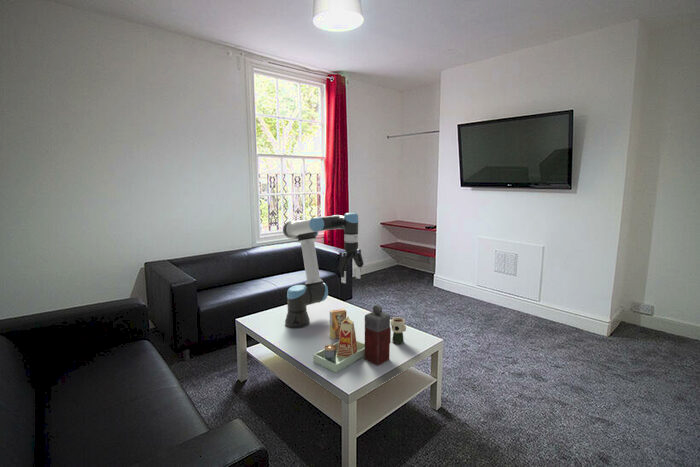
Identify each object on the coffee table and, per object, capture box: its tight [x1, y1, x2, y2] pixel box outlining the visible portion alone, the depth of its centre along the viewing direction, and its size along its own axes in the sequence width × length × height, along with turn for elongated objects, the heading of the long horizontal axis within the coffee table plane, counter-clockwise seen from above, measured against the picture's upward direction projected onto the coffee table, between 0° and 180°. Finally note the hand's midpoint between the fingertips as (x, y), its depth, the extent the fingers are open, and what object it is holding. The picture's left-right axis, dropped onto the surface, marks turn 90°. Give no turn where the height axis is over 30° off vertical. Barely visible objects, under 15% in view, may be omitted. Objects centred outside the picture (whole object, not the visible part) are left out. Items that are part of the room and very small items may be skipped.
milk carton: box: [337, 315, 357, 358], centre depth 174 cm, size 9×9×20 cm
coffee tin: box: [324, 343, 336, 364], centre depth 166 cm, size 6×6×8 cm
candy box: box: [329, 308, 347, 340], centre depth 196 cm, size 9×4×15 cm, turn 116°
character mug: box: [390, 316, 407, 345], centre depth 189 cm, size 11×7×13 cm, turn 39°
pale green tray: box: [312, 340, 365, 374], centre depth 173 cm, size 15×25×4 cm, turn 139°
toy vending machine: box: [364, 304, 392, 366], centre depth 170 cm, size 9×11×28 cm
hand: (351, 280), depth 190 cm, fingers open, 11 cm apart
